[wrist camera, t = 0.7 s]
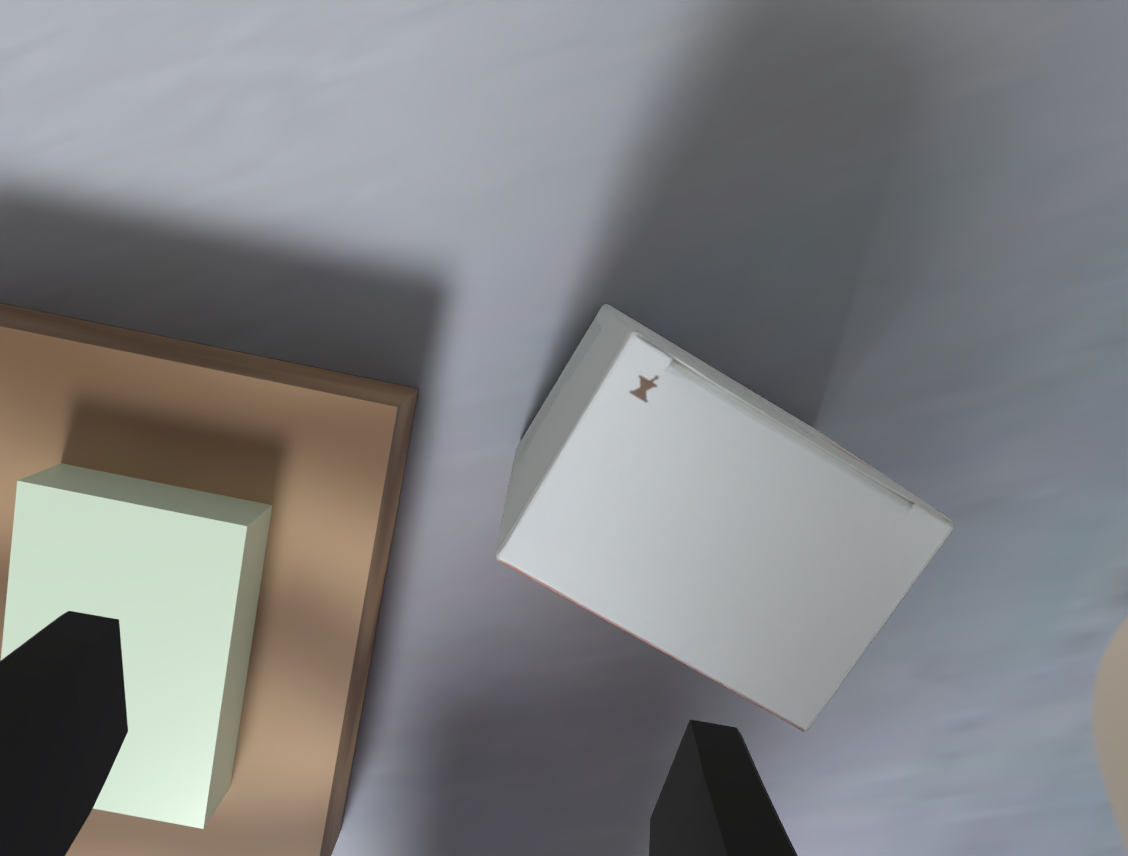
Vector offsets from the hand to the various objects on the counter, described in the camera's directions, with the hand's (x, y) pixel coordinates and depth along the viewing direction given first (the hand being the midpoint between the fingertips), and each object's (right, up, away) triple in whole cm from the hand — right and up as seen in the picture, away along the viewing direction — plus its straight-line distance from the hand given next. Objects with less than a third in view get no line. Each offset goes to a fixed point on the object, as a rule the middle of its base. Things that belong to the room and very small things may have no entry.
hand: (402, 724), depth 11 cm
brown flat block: (-11, -1, +18) cm, 21 cm away
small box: (+5, +3, +17) cm, 18 cm away
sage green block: (-10, -2, +15) cm, 18 cm away
